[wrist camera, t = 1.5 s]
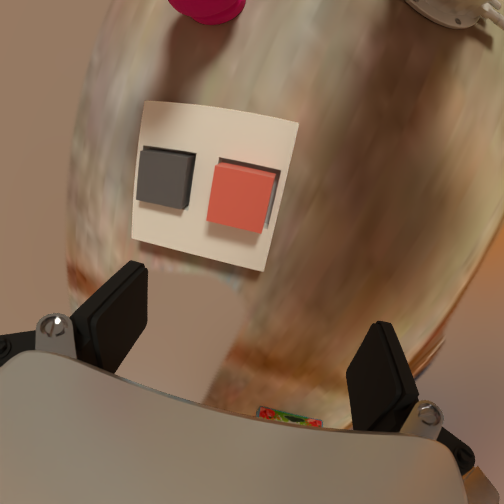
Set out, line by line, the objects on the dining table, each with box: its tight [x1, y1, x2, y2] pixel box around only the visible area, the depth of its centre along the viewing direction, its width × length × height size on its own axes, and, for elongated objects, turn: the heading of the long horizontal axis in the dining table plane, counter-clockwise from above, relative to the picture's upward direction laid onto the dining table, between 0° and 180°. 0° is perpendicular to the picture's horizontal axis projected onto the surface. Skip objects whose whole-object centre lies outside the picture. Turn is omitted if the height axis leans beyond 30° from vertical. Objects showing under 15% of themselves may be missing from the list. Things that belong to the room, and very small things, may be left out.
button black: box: [136, 149, 196, 209], centre depth 27 cm, size 5×5×2 cm
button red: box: [206, 162, 276, 234], centre depth 25 cm, size 5×5×2 cm
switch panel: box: [132, 101, 299, 272], centre depth 28 cm, size 15×15×3 cm
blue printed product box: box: [256, 406, 323, 427], centre depth 41 cm, size 12×2×6 cm, turn 71°
